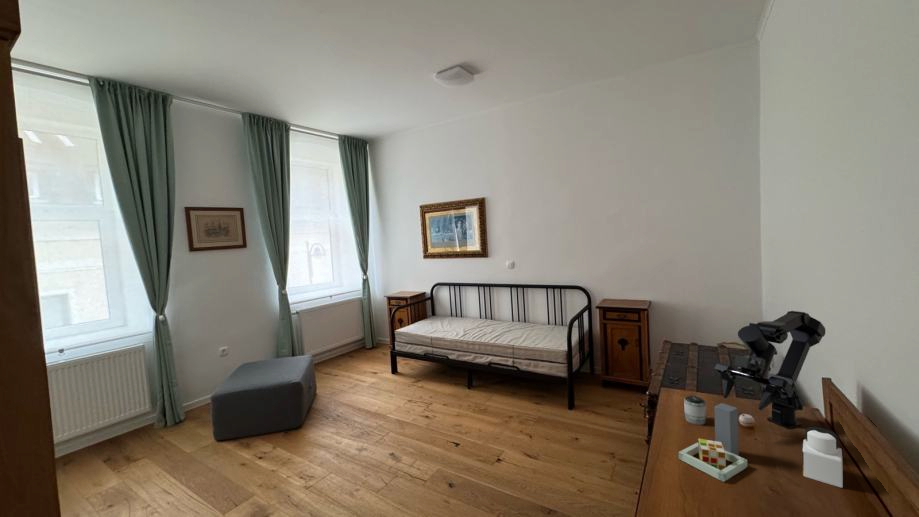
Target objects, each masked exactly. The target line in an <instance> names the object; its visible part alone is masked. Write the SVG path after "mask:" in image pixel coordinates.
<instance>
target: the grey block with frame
mask: <svg viewBox="0 0 919 517" xmlns="http://www.w3.org/2000/svg"><path fill="white" fill-rule="evenodd" d="M713 408H714V409H713V410H714V412H713V413H714V436H715V437H714V438H715V440H714V441H718V442H721V443H722V445H723V448H724V450H725V454H726V460H727V461H728V462H731V464H729V465H727V466H726V468H724V469H723V470H719V469H717V468H715V467H713V466H711V465H709V464H707V463H705V462H703V461H701V460H700V459H699V458H696V457H694V456H695V455H696V454H699V446H698V442H695V443H694V444H691V445H689V446H688V447H685V448H684V449H682V450H680V451H678V460H680V461H682V462H684V463H686V464H688V465H690V466H692V467H693V468H695V469H698V470H699V471H702V472H704V473H705V474H707V475H709V476H710V477H713V478H715V479H717V480H719V481H720V482H723V483H724V482H726V481H728V480H729V479H731V478H732V477H734V476H735V475H737V474H739V473H741V472H742V471H744V470H745V469H747V468H748V467H749V466H748V459H746V458H744V457H741V456H739V454H740V452H739V450H740V449H739V420H738V419H739V418H738V415H739V414H738V408H737V407H736V406H732V405H729V404H726V403H724V402H721V403H719V404H716V405H714V407H713Z"/></svg>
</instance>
